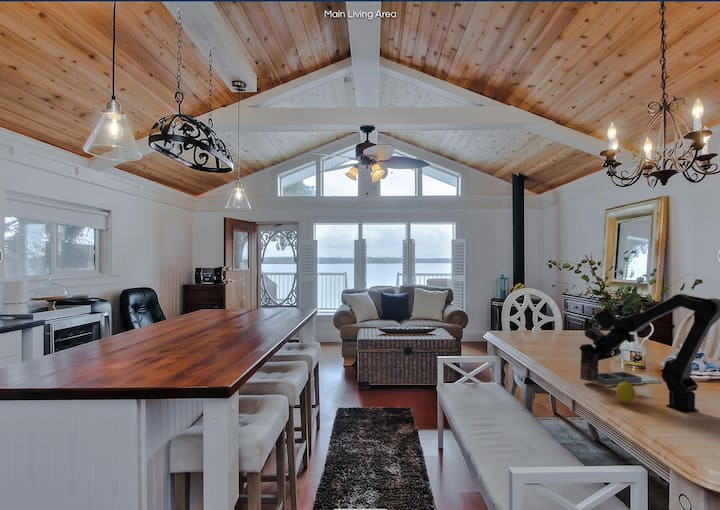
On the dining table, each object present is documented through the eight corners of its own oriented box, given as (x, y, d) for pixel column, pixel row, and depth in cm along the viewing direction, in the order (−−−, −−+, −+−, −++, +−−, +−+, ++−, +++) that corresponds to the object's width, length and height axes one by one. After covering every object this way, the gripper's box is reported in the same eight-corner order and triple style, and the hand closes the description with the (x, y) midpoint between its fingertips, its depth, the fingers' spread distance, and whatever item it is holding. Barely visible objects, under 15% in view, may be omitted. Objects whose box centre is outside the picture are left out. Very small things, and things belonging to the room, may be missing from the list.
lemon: (625, 407, 145) (626, 383, 145) (612, 401, 150) (612, 379, 150) (638, 406, 147) (639, 382, 147) (624, 400, 152) (625, 378, 152)
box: (591, 381, 168) (591, 351, 169) (580, 379, 172) (580, 349, 172) (599, 379, 172) (599, 349, 172) (588, 376, 176) (588, 347, 176)
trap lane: (661, 382, 174) (661, 376, 174) (606, 386, 168) (606, 380, 168) (640, 375, 184) (640, 370, 184) (587, 379, 178) (587, 373, 178)
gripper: (613, 320, 173) (587, 343, 183) (584, 324, 164) (558, 347, 174) (633, 343, 166) (605, 366, 176) (604, 348, 157) (576, 371, 167)
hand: (586, 362), depth 173 cm, fingers closed on box, 6 cm apart
